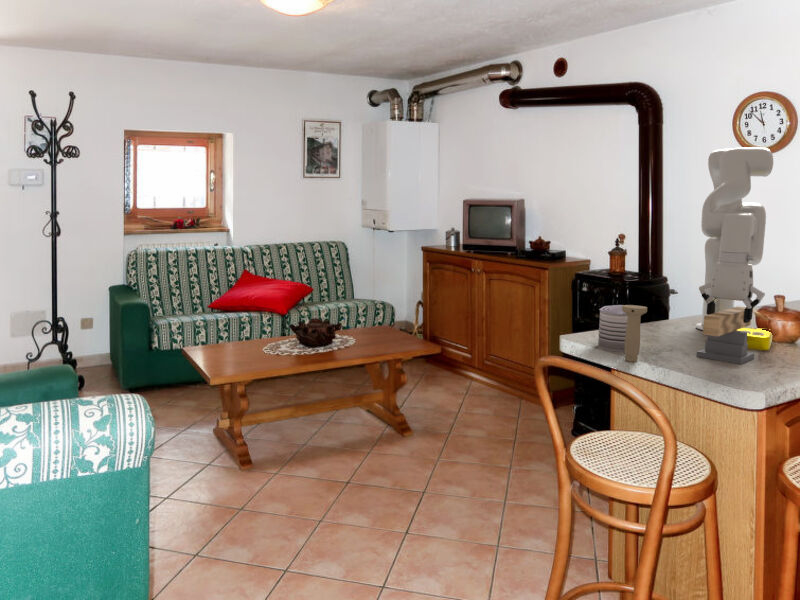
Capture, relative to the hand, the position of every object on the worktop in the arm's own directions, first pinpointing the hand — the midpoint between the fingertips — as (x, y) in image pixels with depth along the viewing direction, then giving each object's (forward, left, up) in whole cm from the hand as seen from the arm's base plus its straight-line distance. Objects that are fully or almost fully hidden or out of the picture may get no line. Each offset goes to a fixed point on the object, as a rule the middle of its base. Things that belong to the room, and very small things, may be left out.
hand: (728, 319), depth 199 cm
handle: (+24, -16, -11) cm, 31 cm away
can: (+11, -27, -11) cm, 31 cm away
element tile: (-24, -4, -12) cm, 27 cm away
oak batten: (0, 0, -3) cm, 3 cm away
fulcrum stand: (0, 0, -11) cm, 11 cm away
